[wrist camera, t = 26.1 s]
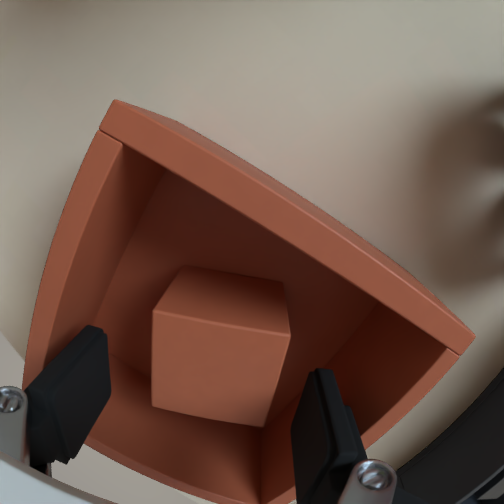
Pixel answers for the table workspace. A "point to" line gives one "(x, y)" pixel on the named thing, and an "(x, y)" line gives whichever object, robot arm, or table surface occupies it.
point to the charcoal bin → (461, 454)
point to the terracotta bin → (236, 262)
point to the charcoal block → (492, 488)
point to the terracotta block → (218, 345)
